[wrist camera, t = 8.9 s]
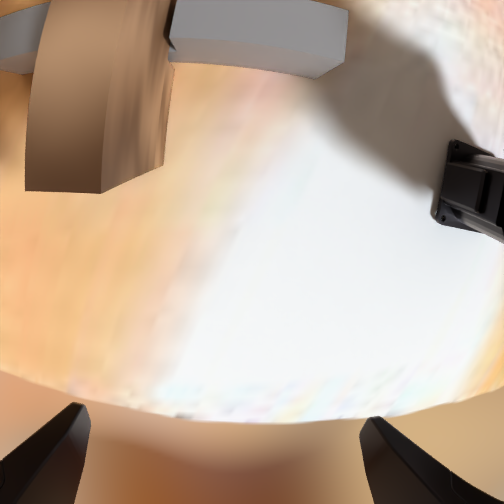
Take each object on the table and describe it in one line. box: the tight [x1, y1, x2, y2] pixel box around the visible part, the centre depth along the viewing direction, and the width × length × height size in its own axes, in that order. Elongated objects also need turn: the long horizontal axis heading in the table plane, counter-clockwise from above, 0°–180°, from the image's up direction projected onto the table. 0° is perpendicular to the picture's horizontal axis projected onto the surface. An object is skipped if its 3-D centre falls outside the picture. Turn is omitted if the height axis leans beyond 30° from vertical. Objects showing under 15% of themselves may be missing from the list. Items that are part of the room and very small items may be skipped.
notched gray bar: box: [0, 0, 349, 79], centre depth 13 cm, size 20×3×5 cm, turn 83°
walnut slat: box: [25, 0, 177, 194], centre depth 10 cm, size 16×3×10 cm, turn 173°
